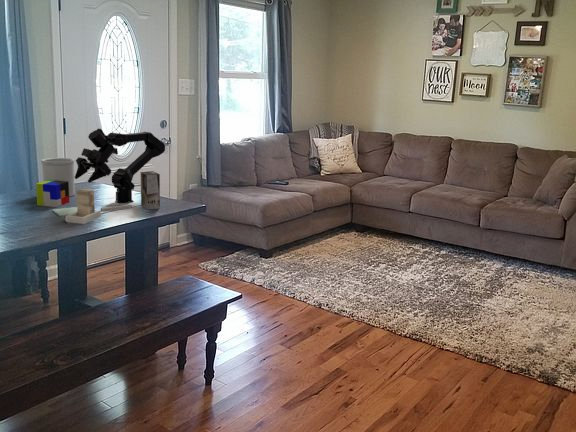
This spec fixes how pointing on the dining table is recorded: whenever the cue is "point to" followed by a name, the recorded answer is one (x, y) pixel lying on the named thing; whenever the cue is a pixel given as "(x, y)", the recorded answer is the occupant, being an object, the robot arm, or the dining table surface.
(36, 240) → the dining table surface
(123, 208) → the rod
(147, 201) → the coffee box
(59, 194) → the puzzle toy
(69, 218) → the channel
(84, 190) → the block
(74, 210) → the mat
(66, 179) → the utensil holder
